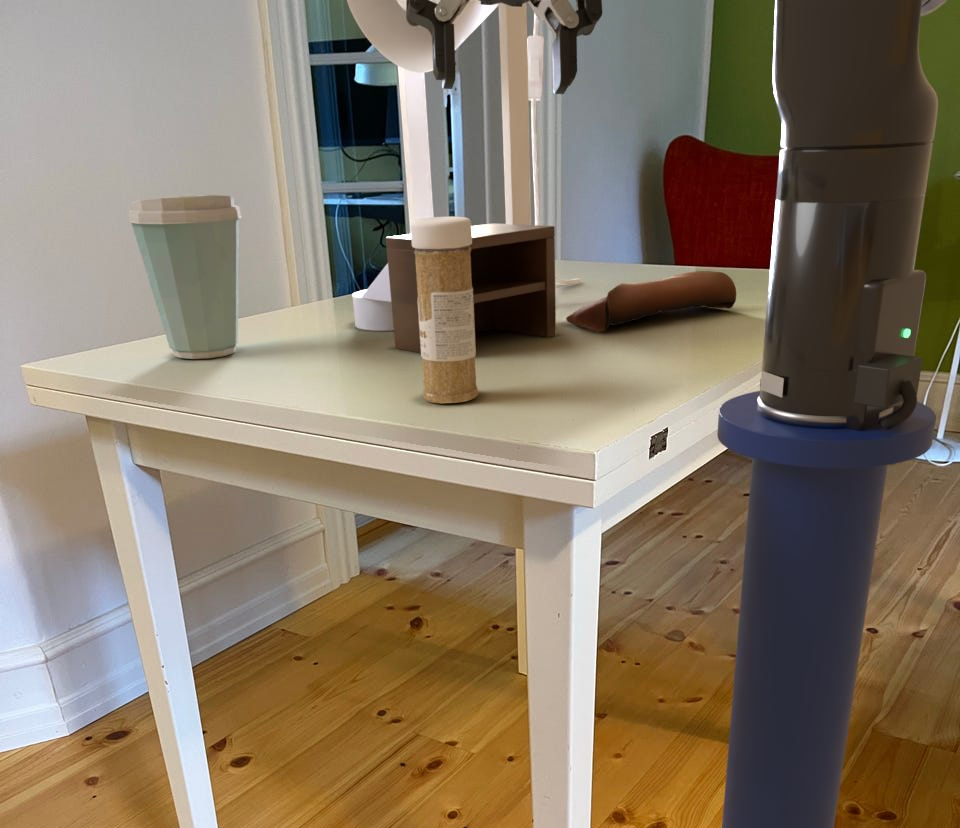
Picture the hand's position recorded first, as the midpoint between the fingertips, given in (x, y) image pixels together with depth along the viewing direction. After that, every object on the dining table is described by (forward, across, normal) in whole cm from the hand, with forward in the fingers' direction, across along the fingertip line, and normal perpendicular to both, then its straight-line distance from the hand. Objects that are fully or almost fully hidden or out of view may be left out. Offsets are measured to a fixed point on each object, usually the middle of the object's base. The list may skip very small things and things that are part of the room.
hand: (506, 87), depth 73 cm
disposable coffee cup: (+14, -25, +32) cm, 43 cm away
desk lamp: (+5, +8, +50) cm, 51 cm away
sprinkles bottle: (+22, -4, +4) cm, 23 cm away
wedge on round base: (+10, -4, +38) cm, 40 cm away
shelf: (+14, +2, +26) cm, 29 cm away
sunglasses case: (+11, +22, +30) cm, 39 cm away
